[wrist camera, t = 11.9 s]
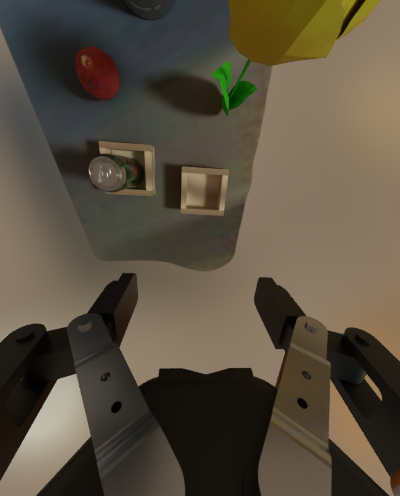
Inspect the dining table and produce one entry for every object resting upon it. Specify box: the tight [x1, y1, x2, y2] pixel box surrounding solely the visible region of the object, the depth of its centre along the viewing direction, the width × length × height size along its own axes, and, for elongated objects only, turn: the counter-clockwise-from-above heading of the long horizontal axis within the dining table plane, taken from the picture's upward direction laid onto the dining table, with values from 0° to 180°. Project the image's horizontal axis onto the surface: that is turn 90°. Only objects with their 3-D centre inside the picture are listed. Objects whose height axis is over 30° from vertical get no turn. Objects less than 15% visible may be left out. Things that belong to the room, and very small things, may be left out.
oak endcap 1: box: [99, 141, 155, 196], centre depth 35 cm, size 8×8×4 cm
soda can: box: [89, 154, 144, 193], centre depth 31 cm, size 5×5×12 cm
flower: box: [211, 0, 381, 115], centre depth 19 cm, size 9×8×30 cm
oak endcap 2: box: [181, 167, 229, 216], centre depth 37 cm, size 8×8×4 cm
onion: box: [75, 46, 120, 100], centre depth 28 cm, size 6×6×8 cm
